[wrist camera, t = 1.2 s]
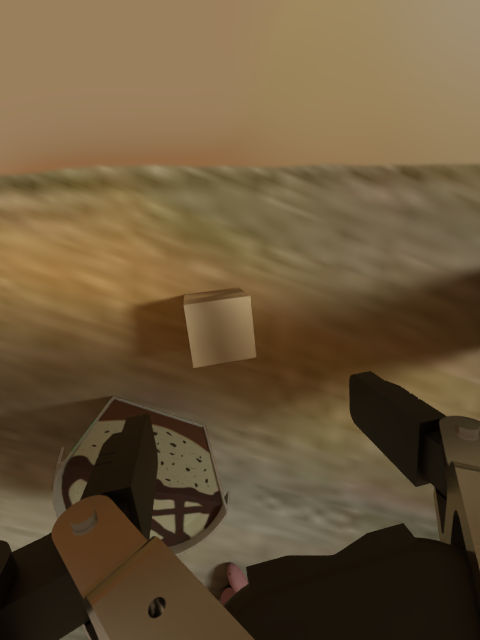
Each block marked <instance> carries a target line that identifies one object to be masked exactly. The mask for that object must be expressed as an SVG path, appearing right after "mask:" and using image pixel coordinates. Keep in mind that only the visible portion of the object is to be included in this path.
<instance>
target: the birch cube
mask: <svg viewBox="0 0 480 640" xmlns="http://www.w3.org/2000/svg"><path fill="white" fill-rule="evenodd" d="M184 311H185V317H186V324H187V330H188V336H189V343H190V349H191V355H192V362H193V368H197V367H203V366H209V365H215V364H221V363H227V362H233V361H239V360H245V359H250V358H256V349H255V339H254V329H253V318H252V308H251V298H250V295H248V294H247V293H246V292H244V291H243V290H242V289H240V288H231V289H224V290H216V291H209V292H201V293H194V294H186V295H184Z"/></svg>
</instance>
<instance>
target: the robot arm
mask: <svg viewBox="0 0 480 640" xmlns="http://www.w3.org/2000/svg"><path fill="white" fill-rule="evenodd" d="M349 395H350V414H351V417H352V419H353V421H354V423H355V424H356V425H357V427H358V428H359V429H360V430H361V431H362V432H363V433H364V434H365V435H366V436H367V437H368V438H369V439H370V440H371V441H372V442H373V443H374V444H375V445H376V446H377V447H378V448H379V449H380V450H381V451H382V452H383V453H384V454H385V456H386V457H387V458H388V459H389V460H390V461H391V462H392V463H393V464H394V465H395V466H396V467H397V468H398V469H399V470H400V471H401V472H402V473H403V474H404V475H405V476H406V477H407V478H408V479H409V480H410V481H411V482H412V483H413V484H414V486H415V487H417V486H421V485H425V484H429V483H431V484H432V485H433V486H434V503H435V510H436V517H437V525H438V532H439V539H440V541H436V540H432V539H426V538H417V537H414V536H413V535H412V533H411V532H410V531H409V530H408V528H407V527H406V526H405V525H404V523H402V524H399V525H395V526H391V527H388V528H384V529H381V530H377V531H373V532H370V533H367V534H365V535H364V536H362V537H361V538H359V539H358V540H356V541H355V542H353V543H352V544H350V545H349V546H347V547H346V548H344V549H343V550H341V551H340V552H338V553H337V554H335V555H329V556H284V557H280V558H277V559H273V560H269V561H266V562H262V563H259V564H255V565H252V566H248V567H246V570H247V577H248V584H247V585H246V586H244V587H243V588H241V589H240V590H239V591H238V592H236V593H235V594H234V595H233V596H232V597H231V598H230V599H229V600H228V601H227V602H226V603H225V604H224V605H222V604H221V603H220V602H219V601H218V600H217V599H216V598H215V597H214V596H213V595H212V594H211V593H210V591H209V590H208V589H207V588H206V587H205V586H204V585H203V584H202V583H201V582H200V581H199V580H198V579H197V578H196V577H195V575H194V574H193V573H192V572H191V571H190V570H189V569H188V568H187V567H186V566H185V565H184V564H183V563H182V562H181V561H180V559H179V558H178V557H177V556H176V555H175V554H174V553H173V552H172V551H171V550H170V549H169V548H168V547H167V546H166V544H165V543H164V542H163V541H162V540H161V539H159V538H158V537H157V536H153V537H151V538H150V531H151V522H152V514H153V505H154V496H155V488H156V479H157V471H158V453H157V447H156V442H155V438H154V433H153V428H152V423H151V419H150V415H149V413H144V414H139V415H133V416H128V417H127V418H126V421H125V424H124V427H123V430H122V432H119V433H114V434H112V435H111V436H110V437H109V438H108V439H107V440H106V441H105V442H104V444H103V445H102V447H101V450H100V452H99V455H98V458H97V460H96V462H95V466H94V467H93V469H92V472H91V474H90V477H89V479H88V482H87V484H86V487H85V489H84V491H83V494H82V496H81V499H80V501H78V502H76V503H75V504H73V505H72V506H70V507H69V508H68V509H67V510H66V511H64V512H63V513H62V514H61V516H60V517H59V518H58V519H57V521H56V523H55V524H54V526H53V529H52V532H51V533H50V534H48V535H46V536H44V537H43V538H41V539H38V540H36V541H34V542H32V543H30V544H28V545H26V546H24V547H22V548H20V549H18V550H16V551H14V552H12V551H11V549H10V546H9V544H8V543H7V542H5V541H2V540H0V640H59V639H60V638H62V637H64V636H65V635H67V634H68V633H70V632H71V631H73V630H75V629H76V628H78V627H79V626H81V625H82V626H83V628H84V630H85V632H86V634H87V636H88V638H89V640H480V421H478V420H476V419H472V418H469V417H464V416H445V415H444V414H442V413H441V412H439V411H438V410H436V409H435V408H433V407H432V406H430V405H428V404H427V403H425V402H424V401H422V400H421V399H418V397H416V396H414V395H413V394H410V393H409V392H408V391H407V390H405V389H404V388H402V387H401V386H399V385H396V384H393V383H391V382H388V381H384V380H383V379H381V378H380V377H378V376H377V375H375V374H374V373H372V372H370V371H368V372H363V373H358V374H353V375H351V376H350V379H349Z"/></svg>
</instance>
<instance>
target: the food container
mask: <svg viewBox="0 0 480 640" xmlns="http://www.w3.org/2000/svg"><path fill="white" fill-rule="evenodd" d="M144 413H149V415H150V419H151V423H152V428H153V433H154V438H155V442H156V447H157V453H158V471H157V479H156V488H155V496H154V505H153V514H152V522H151V531H150V538H151V537H153V536H157V537H158V538H159V539H161V540H162V541H163V542H164V543H165V544H166V546H167V547H168V548H169V549H170V550H171V551H172V552H173V553H174V554H175V555H179V554H182V553H184V552H186V551H188V550H190V549H191V548H193V547H195V546H196V545H198V544H199V543H201V542H202V541H204V540H205V539H206V538H207V537H208V536H210V535H211V534H212V533H213V532H214V531H215V530H216V529H217V527H218V526H219V525H220V524H221V523H222V521H223V520H224V518H225V517H226V515H227V510H228V508H229V507H230V492H229V491H228V492H227V494H226V496H225V497H224V494H223V490H222V487H221V483H220V479H219V475H218V471H217V468H216V464H215V460H214V456H213V452H212V449H211V445H210V441H209V437H208V434H207V430H206V426H205V425H201V424H198V423H195V422H192V421H189V420H186V419H183V418H180V417H177V416H174V415H171V414H168V413H165V412H161V411H158V410H155V409H152V408H149V407H146V406H143V405H140V404H137V403H134V402H131V401H128V400H124V399H121V398H118V397H115V396H112V398H111V399H110V400H109V402H108V403H107V404H106V406H105V407H104V408H103V410H102V411H101V412H100V414H99V415H98V416H97V418H96V419H95V420H94V422H93V423H92V424H91V425H90V427H89V428H88V429H87V431H86V432H85V433H84V435H83V436H82V437H81V439H80V440H79V441H78V443H77V444H76V445H75V447H74V448H73V449H72V451H71V452H70V453H69V455H68V456H67V457H66V459H65V460H64V461H63V462H61V459H62V455H63V451H64V447H61V451H60V454H59V457H58V461H57V465H56V468H55V472H54V477H53V486H52V489H53V505H54V510H55V513H56V516H57V519H58V518H59V517H60V516H61V514H62V513H63V512H64V511H66V510H67V509H68V508H69V507H70V506H72V505H73V504H75V503H76V502H78V501H80V499H81V496H82V494H83V491H84V489H85V487H86V484H87V482H88V479H89V477H90V474H91V472H92V469H93V467H94V466H95V462H96V460H97V458H98V455H99V452H100V450H101V447H102V445H103V444H104V442H105V441H106V440H107V439H108V438H109V437H110V436H111V435H112V434H114V433H119V432H122V430H123V427H124V424H125V421H126V418H127V417H128V416H133V415H139V414H144Z"/></svg>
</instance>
